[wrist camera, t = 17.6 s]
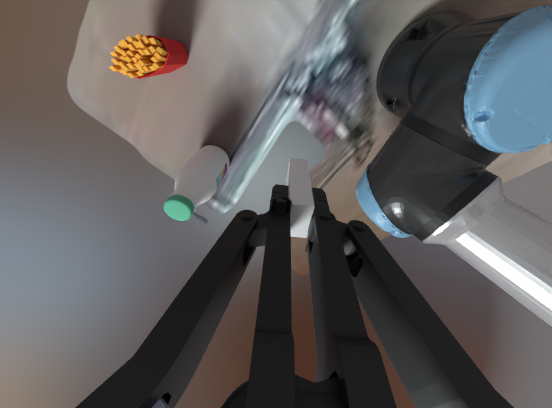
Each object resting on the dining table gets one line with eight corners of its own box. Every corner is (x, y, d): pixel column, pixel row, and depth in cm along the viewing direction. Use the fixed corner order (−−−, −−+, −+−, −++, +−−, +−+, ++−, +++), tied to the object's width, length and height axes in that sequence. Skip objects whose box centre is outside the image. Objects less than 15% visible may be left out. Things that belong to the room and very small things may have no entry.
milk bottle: (191, 152, 48) (142, 202, 32) (217, 138, 46) (177, 184, 30) (211, 178, 52) (176, 233, 36) (236, 166, 50) (210, 220, 34)
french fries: (161, 77, 39) (119, 85, 30) (147, 53, 37) (96, 53, 28) (197, 59, 37) (165, 61, 28) (185, 32, 35) (145, 25, 25)
